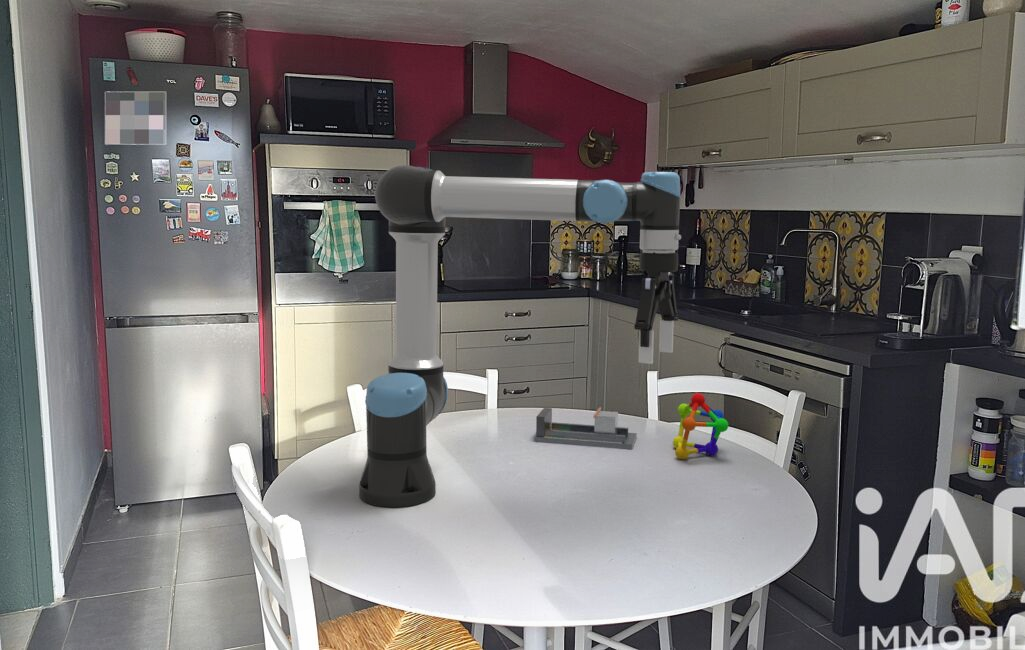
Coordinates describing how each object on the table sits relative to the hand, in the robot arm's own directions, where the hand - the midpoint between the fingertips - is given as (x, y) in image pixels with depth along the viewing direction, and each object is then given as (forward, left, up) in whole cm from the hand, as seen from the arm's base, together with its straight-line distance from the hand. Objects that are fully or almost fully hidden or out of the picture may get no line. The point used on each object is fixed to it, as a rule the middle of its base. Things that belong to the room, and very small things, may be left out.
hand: (656, 357), depth 164 cm
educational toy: (+8, +26, -27) cm, 39 cm away
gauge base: (-19, +30, -27) cm, 45 cm away
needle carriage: (-14, +30, -25) cm, 42 cm away
